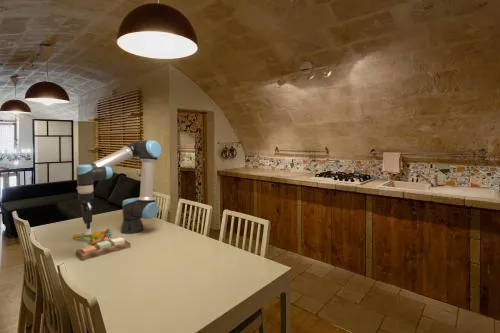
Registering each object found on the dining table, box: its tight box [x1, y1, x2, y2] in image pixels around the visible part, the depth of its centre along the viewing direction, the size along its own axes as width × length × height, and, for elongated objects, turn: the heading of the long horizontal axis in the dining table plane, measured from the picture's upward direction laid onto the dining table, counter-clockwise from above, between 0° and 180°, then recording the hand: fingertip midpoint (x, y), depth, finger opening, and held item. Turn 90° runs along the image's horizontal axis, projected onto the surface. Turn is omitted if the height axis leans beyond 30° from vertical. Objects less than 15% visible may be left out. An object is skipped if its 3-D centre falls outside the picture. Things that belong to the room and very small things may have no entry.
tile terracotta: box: [80, 245, 96, 254], centre depth 159 cm, size 6×6×2 cm
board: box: [75, 239, 131, 261], centre depth 165 cm, size 26×12×3 cm, turn 136°
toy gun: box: [72, 227, 113, 246], centre depth 177 cm, size 8×27×15 cm
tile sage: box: [96, 240, 111, 249], centre depth 165 cm, size 6×6×2 cm
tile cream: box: [110, 236, 126, 246], centre depth 170 cm, size 6×6×2 cm
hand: (88, 233), depth 158 cm, fingers closed
